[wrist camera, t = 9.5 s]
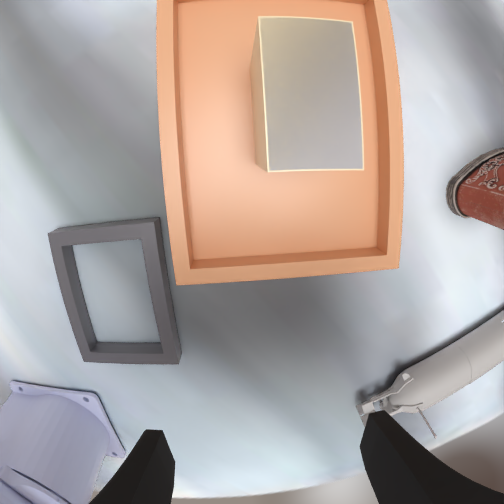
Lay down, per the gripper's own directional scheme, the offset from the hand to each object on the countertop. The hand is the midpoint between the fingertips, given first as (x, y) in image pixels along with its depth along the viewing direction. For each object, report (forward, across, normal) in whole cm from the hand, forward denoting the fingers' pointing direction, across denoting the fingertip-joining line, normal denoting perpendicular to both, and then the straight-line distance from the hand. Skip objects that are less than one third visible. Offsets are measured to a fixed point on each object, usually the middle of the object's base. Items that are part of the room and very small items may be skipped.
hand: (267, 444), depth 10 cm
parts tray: (+9, -2, -11) cm, 15 cm away
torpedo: (+10, -16, +5) cm, 19 cm away
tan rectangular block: (+9, -2, -11) cm, 14 cm away
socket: (+9, +8, -2) cm, 13 cm away
